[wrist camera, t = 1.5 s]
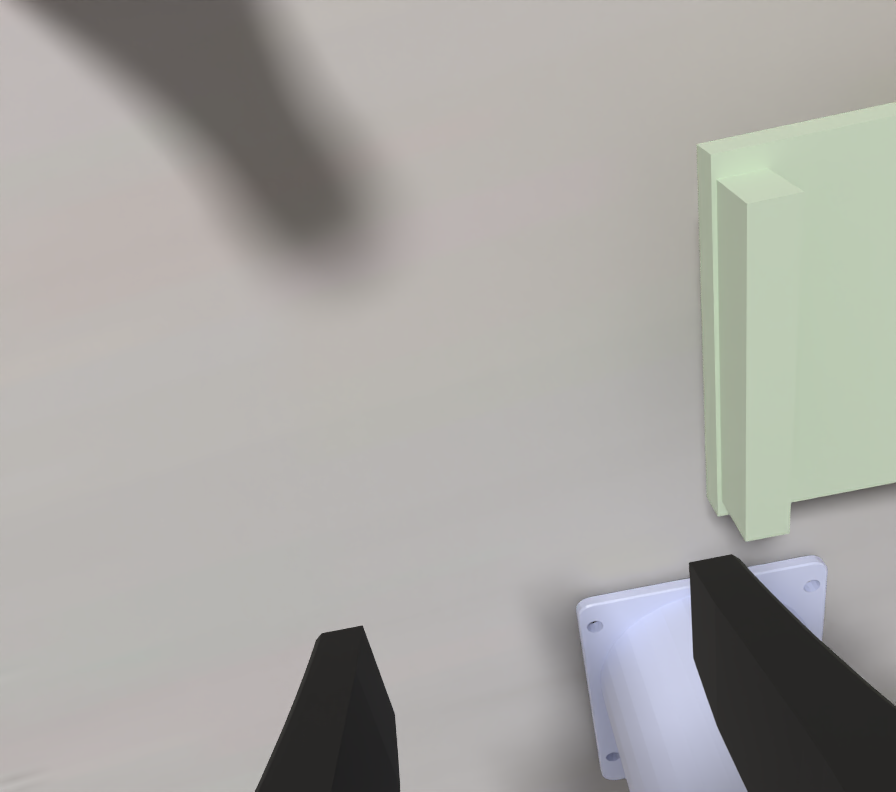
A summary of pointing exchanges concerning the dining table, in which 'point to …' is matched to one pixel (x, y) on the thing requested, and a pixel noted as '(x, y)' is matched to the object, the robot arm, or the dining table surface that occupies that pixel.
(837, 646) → the dining table surface
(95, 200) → the dining table surface
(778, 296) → the sage lid
